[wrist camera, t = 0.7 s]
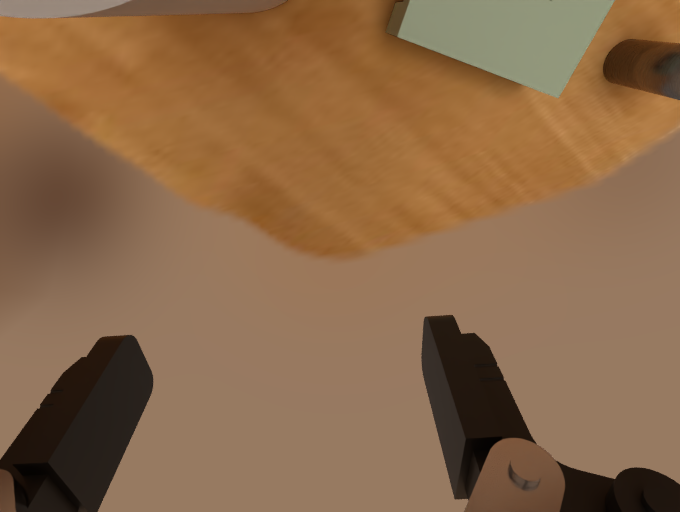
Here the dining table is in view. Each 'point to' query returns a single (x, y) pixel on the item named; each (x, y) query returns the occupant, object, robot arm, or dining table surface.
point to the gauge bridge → (505, 35)
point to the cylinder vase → (128, 7)
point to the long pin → (645, 66)
